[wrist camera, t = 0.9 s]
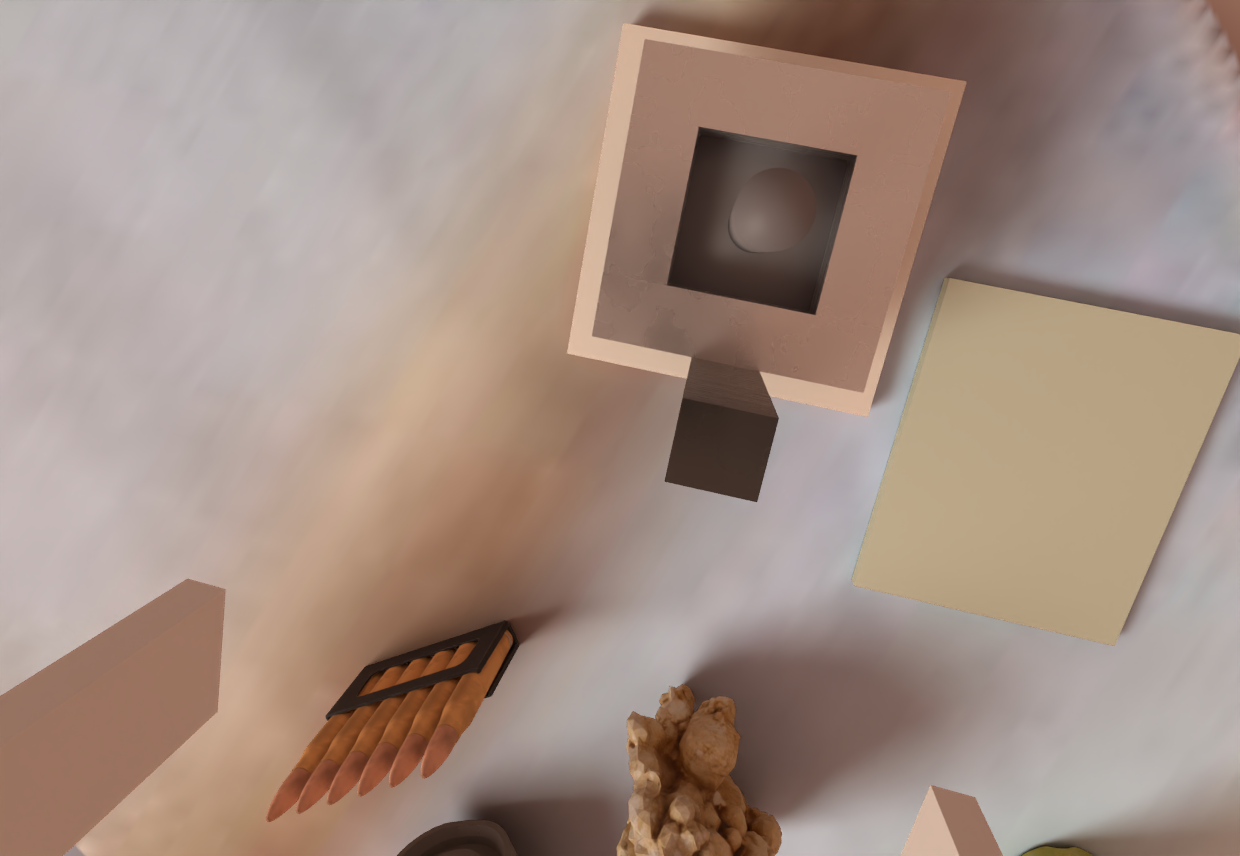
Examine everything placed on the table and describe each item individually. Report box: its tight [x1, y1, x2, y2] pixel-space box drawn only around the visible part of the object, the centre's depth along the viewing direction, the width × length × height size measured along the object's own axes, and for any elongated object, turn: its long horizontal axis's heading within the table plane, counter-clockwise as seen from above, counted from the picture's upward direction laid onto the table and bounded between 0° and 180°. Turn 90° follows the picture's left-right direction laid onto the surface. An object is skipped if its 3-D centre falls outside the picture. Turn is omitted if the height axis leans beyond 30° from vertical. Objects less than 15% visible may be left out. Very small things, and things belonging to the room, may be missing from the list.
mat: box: [852, 278, 1240, 646], centre depth 36 cm, size 17×14×1 cm
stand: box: [567, 23, 967, 417], centre depth 28 cm, size 16×16×15 cm
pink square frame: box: [592, 39, 951, 502], centre depth 25 cm, size 15×12×11 cm
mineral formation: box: [617, 684, 782, 856], centre depth 36 cm, size 8×13×15 cm, turn 22°
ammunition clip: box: [266, 621, 519, 822], centre depth 38 cm, size 11×2×12 cm, turn 113°
